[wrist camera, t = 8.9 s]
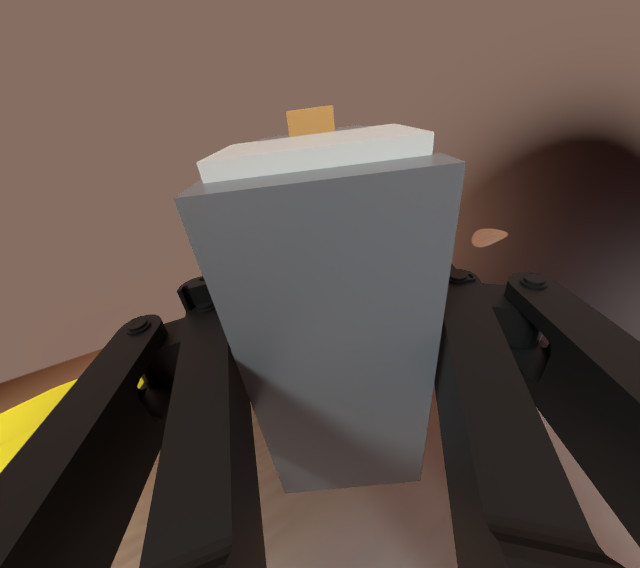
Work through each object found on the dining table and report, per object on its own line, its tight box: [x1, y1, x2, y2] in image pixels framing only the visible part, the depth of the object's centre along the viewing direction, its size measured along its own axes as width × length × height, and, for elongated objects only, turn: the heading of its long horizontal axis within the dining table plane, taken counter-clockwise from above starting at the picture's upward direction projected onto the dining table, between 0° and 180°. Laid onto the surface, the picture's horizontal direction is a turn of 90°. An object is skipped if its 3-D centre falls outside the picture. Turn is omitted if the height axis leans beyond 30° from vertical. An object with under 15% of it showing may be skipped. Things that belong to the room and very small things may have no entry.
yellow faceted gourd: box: [0, 378, 144, 473], centre depth 22 cm, size 18×7×8 cm
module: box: [174, 105, 466, 493], centre depth 12 cm, size 5×11×12 cm, turn 2°
